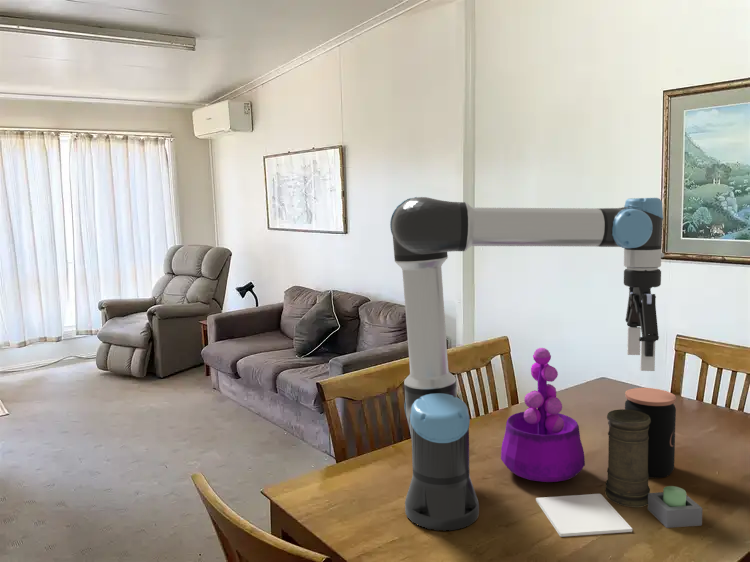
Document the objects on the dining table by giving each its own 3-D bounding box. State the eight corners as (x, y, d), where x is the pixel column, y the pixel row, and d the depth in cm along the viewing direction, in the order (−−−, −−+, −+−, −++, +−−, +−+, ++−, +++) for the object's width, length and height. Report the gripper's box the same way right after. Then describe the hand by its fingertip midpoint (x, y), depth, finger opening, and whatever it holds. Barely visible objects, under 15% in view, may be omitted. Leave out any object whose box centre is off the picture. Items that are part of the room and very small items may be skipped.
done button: (670, 518, 116) (670, 496, 115) (658, 508, 120) (659, 486, 119) (689, 516, 116) (690, 495, 115) (678, 506, 120) (678, 485, 119)
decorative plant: (491, 459, 147) (490, 341, 143) (564, 454, 149) (564, 336, 145) (516, 496, 128) (515, 361, 125) (599, 489, 130) (600, 355, 126)
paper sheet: (560, 536, 112) (560, 533, 112) (535, 500, 126) (535, 497, 126) (632, 531, 113) (632, 528, 113) (600, 496, 127) (600, 493, 127)
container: (647, 511, 120) (649, 426, 118) (600, 501, 125) (601, 418, 123) (653, 492, 128) (655, 412, 126) (609, 483, 133) (610, 405, 130)
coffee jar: (680, 480, 133) (682, 402, 130) (629, 478, 135) (630, 401, 133) (666, 460, 143) (668, 388, 141) (619, 458, 145) (620, 386, 143)
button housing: (666, 527, 114) (667, 510, 114) (647, 509, 121) (648, 493, 121) (701, 525, 114) (702, 508, 114) (681, 507, 121) (681, 490, 121)
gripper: (677, 274, 118) (673, 378, 121) (647, 262, 142) (644, 349, 145) (636, 275, 120) (634, 377, 122) (613, 262, 144) (612, 348, 147)
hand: (640, 362), depth 134 cm, fingers open, 13 cm apart
